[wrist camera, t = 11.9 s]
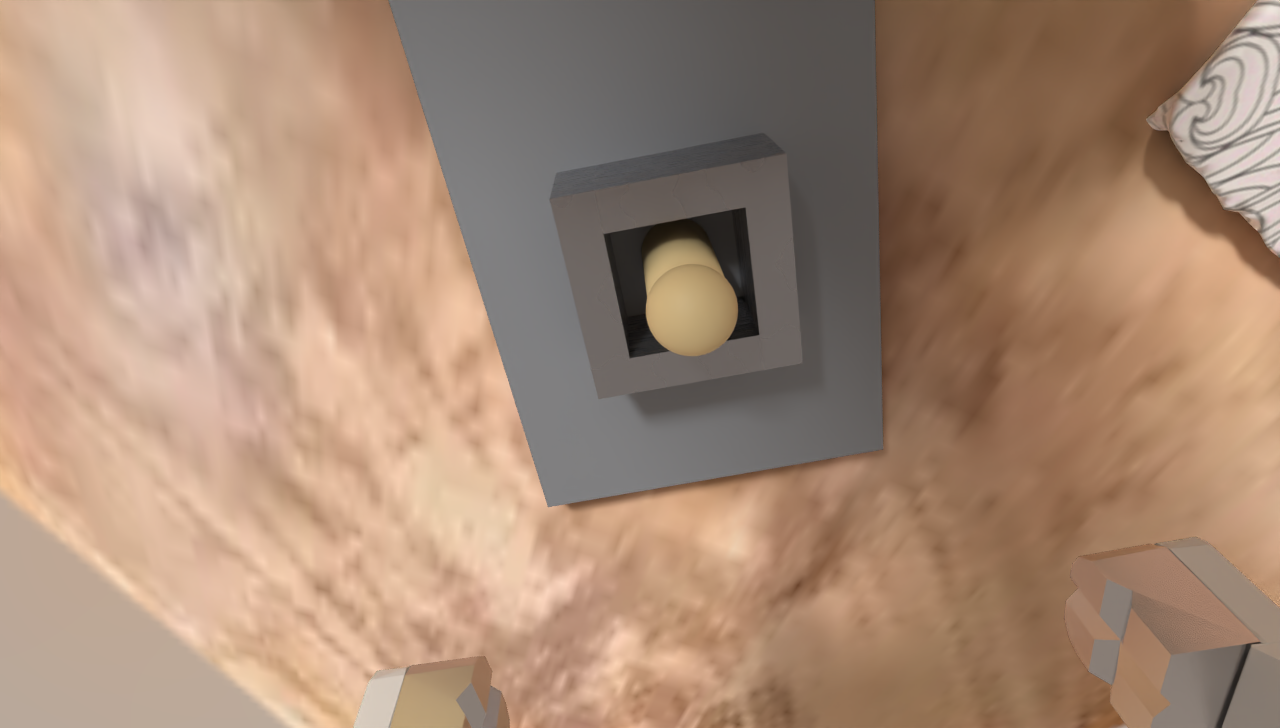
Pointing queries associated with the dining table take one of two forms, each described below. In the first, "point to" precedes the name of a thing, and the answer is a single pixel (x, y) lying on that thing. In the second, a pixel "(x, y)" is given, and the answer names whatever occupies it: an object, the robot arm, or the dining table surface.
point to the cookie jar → (1235, 121)
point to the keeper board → (641, 109)
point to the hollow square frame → (666, 192)
